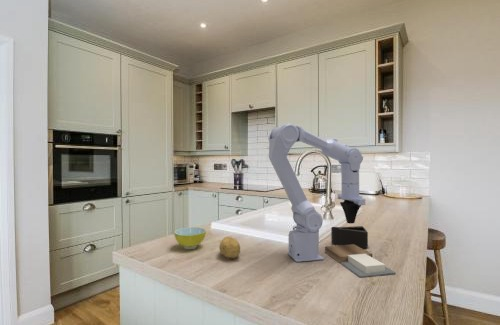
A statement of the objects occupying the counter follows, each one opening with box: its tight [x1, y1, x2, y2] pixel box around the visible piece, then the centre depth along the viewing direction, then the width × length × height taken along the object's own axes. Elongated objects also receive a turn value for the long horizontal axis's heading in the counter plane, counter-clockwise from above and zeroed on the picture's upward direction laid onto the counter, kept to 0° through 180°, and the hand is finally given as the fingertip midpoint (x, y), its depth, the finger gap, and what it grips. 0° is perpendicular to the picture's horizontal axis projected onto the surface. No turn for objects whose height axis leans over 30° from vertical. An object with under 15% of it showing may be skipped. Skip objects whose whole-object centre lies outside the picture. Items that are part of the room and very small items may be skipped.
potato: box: [219, 236, 241, 259], centre depth 90 cm, size 7×11×6 cm, turn 10°
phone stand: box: [330, 225, 369, 250], centre depth 102 cm, size 9×6×12 cm
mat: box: [340, 262, 397, 279], centre depth 79 cm, size 11×10×1 cm
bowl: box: [173, 226, 207, 250], centre depth 99 cm, size 11×12×6 cm
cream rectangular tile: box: [348, 254, 386, 274], centre depth 80 cm, size 6×9×2 cm, turn 11°
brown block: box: [324, 244, 373, 264], centre depth 89 cm, size 11×10×2 cm
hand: (350, 222), depth 93 cm, fingers closed
